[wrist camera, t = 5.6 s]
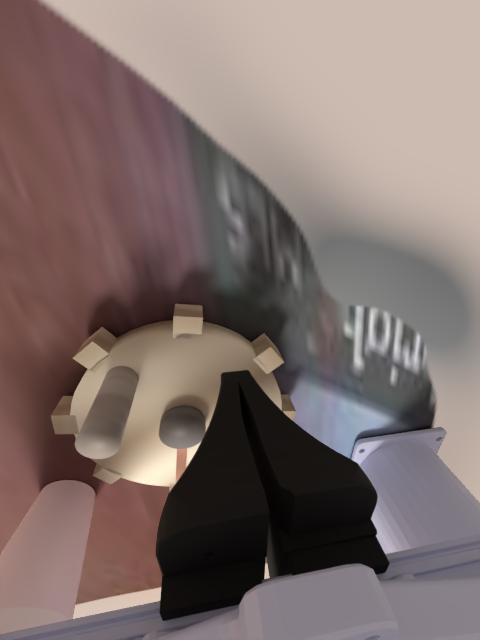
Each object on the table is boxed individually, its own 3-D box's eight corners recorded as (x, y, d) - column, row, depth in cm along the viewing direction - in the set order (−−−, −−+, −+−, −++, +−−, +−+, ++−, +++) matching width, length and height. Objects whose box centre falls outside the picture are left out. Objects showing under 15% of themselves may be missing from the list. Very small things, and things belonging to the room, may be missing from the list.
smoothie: (127, 508, 22) (35, 946, 9) (45, 528, 21) (-167, 1016, 9) (94, 458, 19) (-105, 1007, 6) (-2, 480, 18) (-423, 1117, 6)
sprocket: (324, 402, 19) (369, 476, 14) (179, 496, 21) (175, 588, 16) (191, 250, 13) (189, 289, 8) (9, 405, 15) (-78, 508, 10)
